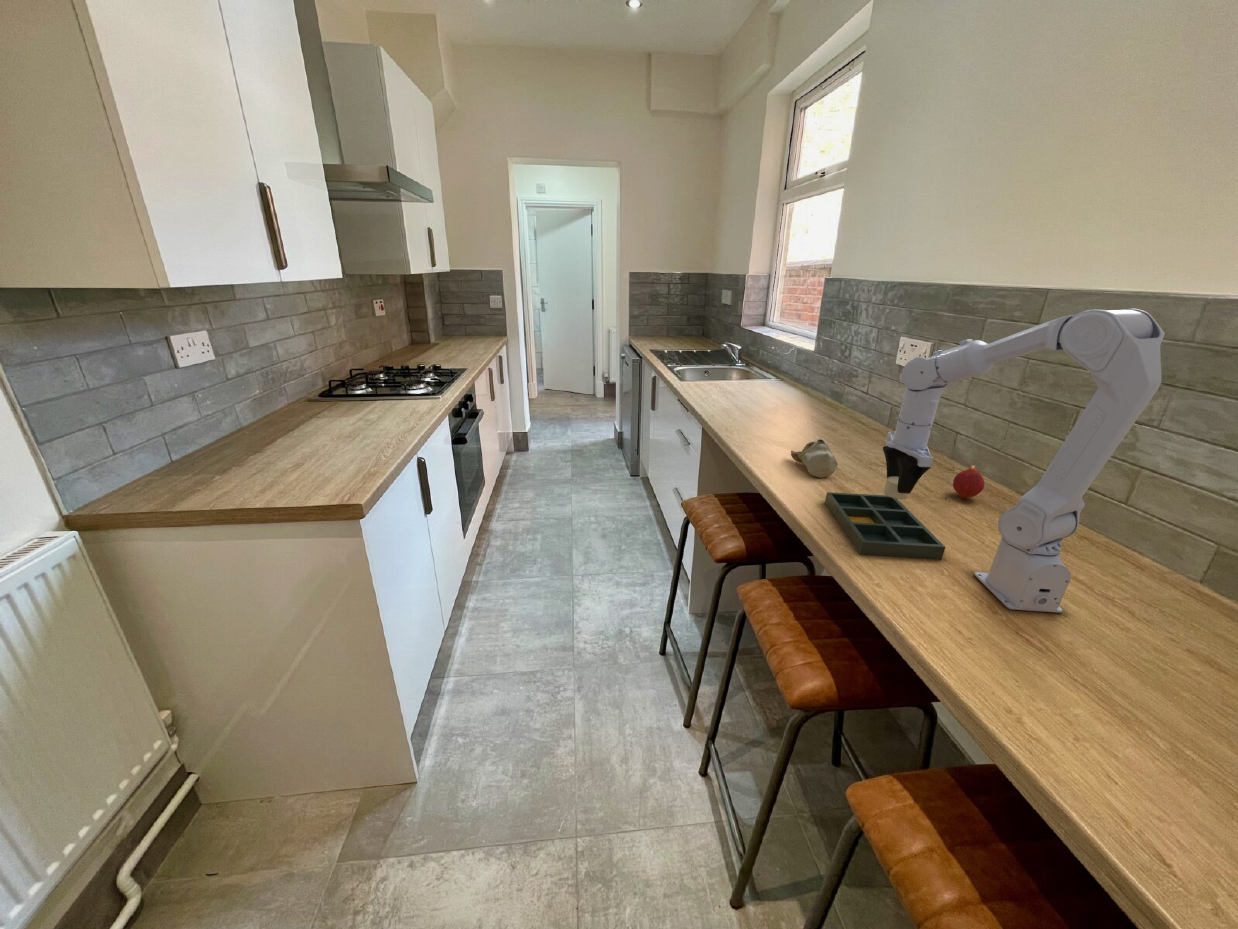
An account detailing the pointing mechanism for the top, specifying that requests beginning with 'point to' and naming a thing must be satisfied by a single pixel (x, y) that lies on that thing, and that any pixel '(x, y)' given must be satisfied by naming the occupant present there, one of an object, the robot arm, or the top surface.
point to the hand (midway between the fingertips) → (898, 487)
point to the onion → (968, 483)
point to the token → (894, 489)
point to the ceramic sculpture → (817, 459)
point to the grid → (883, 526)
